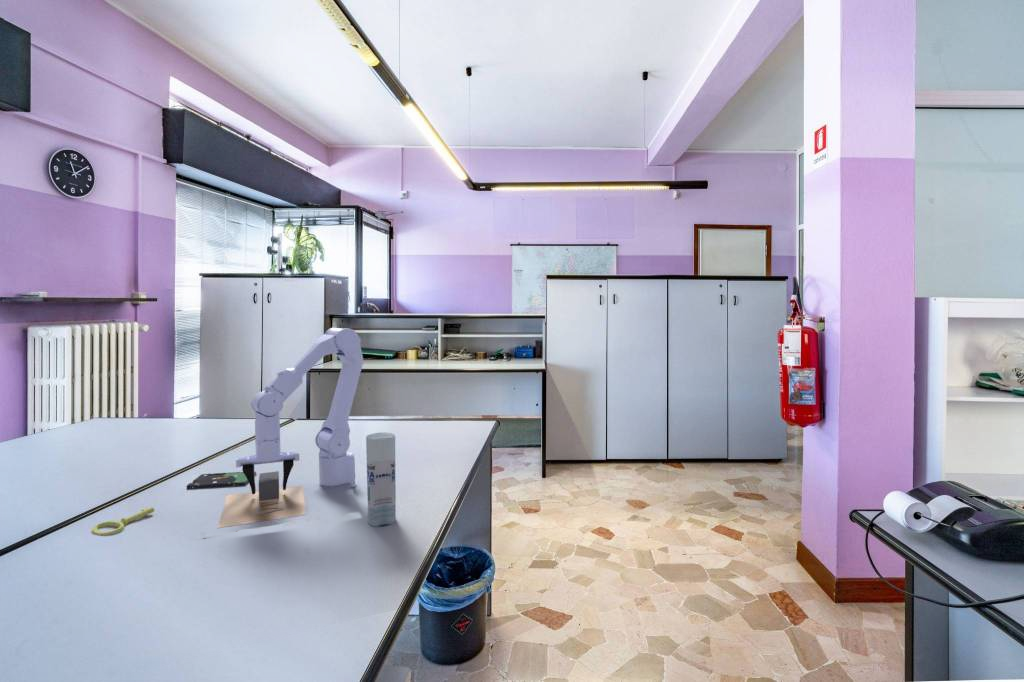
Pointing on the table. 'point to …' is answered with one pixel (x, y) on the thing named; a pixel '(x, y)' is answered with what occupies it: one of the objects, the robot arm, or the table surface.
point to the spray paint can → (381, 478)
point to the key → (120, 522)
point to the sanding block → (269, 486)
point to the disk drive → (219, 480)
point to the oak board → (262, 507)
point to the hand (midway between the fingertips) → (269, 490)
